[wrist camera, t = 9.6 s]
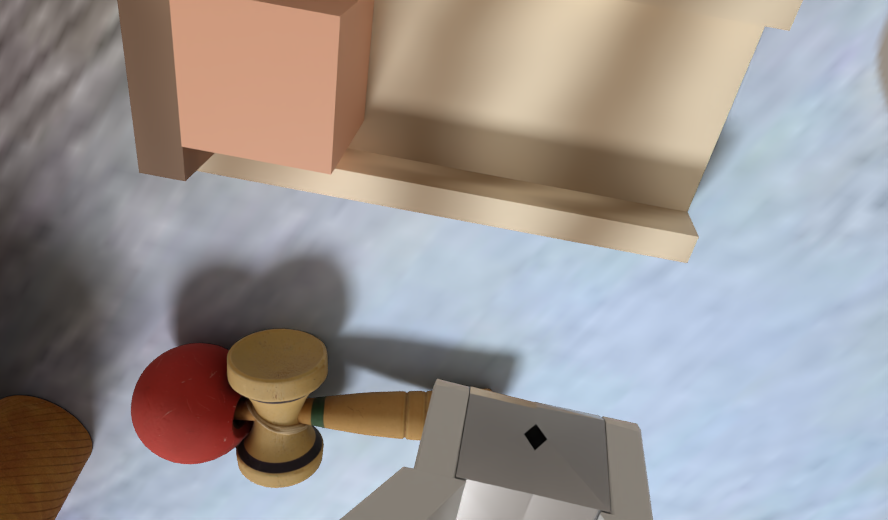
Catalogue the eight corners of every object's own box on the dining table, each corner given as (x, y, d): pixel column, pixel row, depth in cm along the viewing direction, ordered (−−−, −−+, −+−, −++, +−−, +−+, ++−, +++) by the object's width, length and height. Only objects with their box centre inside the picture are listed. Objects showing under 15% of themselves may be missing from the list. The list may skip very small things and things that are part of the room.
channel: (787, -58, 21) (870, -32, 16) (664, 244, 27) (695, 331, 22) (197, -166, 21) (95, -173, 16) (215, 160, 28) (146, 227, 23)
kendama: (495, 313, 32) (134, 303, 31) (506, 421, 28) (84, 414, 27) (480, 400, 38) (171, 394, 37) (487, 502, 33) (134, 499, 32)
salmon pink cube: (375, -14, 22) (340, 16, 18) (364, 121, 25) (330, 174, 21) (235, -40, 22) (167, -16, 18) (239, 97, 25) (181, 146, 21)
